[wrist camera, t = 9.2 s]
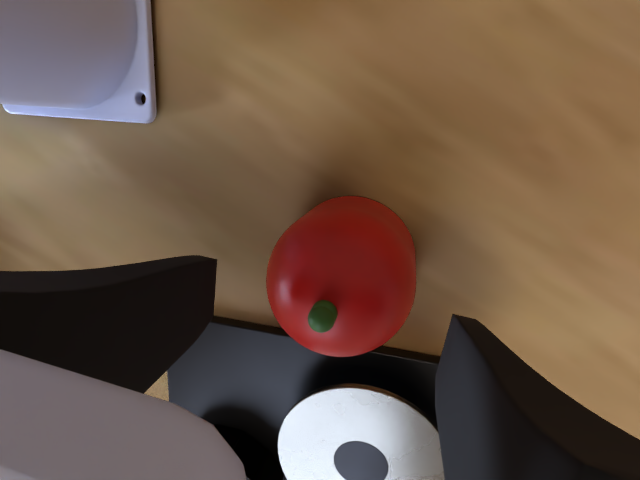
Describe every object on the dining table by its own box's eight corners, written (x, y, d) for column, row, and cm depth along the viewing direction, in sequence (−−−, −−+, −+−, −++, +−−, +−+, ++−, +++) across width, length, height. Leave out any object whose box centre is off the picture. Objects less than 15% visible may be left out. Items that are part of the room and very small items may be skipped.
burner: (282, 367, 17) (279, 371, 16) (466, 404, 15) (468, 410, 15) (276, 501, 19) (274, 507, 18) (437, 546, 17) (438, 553, 17)
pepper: (294, 189, 16) (229, 221, 11) (424, 202, 15) (430, 246, 9) (289, 304, 18) (229, 386, 12) (406, 323, 17) (403, 425, 11)
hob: (170, 307, 20) (136, 332, 17) (505, 368, 16) (521, 409, 14) (180, 489, 23) (152, 532, 21) (458, 569, 20) (464, 630, 17)
